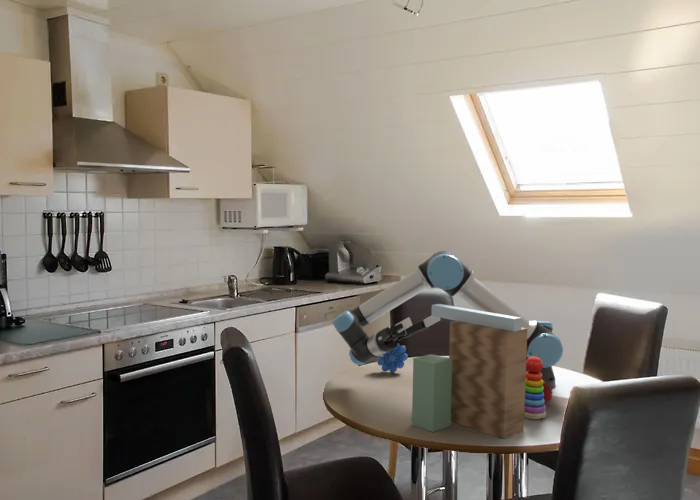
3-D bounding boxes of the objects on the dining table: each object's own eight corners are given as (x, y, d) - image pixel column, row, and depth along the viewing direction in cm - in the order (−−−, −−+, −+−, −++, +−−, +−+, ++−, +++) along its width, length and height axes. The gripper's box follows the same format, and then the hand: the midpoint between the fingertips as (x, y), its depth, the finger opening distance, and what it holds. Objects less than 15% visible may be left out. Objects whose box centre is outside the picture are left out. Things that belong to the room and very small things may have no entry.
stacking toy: (515, 411, 203) (517, 353, 201) (540, 411, 203) (542, 353, 202) (524, 420, 195) (526, 359, 193) (550, 420, 195) (552, 359, 194)
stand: (447, 420, 194) (450, 322, 192) (467, 412, 201) (470, 318, 198) (503, 438, 180) (507, 333, 177) (523, 430, 186) (527, 328, 184)
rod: (431, 315, 201) (431, 304, 201) (438, 314, 204) (438, 303, 203) (514, 331, 179) (514, 319, 179) (521, 329, 182) (521, 317, 181)
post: (411, 424, 190) (413, 358, 188) (429, 418, 195) (431, 354, 194) (432, 432, 184) (434, 363, 182) (450, 425, 189) (452, 359, 188)
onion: (552, 402, 212) (553, 379, 211) (551, 408, 207) (552, 383, 206) (533, 400, 214) (534, 377, 213) (532, 405, 208) (533, 381, 208)
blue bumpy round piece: (408, 370, 249) (408, 340, 248) (406, 375, 243) (407, 344, 242) (378, 368, 251) (379, 338, 250) (376, 373, 245) (376, 342, 244)
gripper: (411, 346, 227) (453, 324, 212) (360, 357, 210) (402, 335, 196) (404, 326, 229) (445, 303, 215) (352, 336, 212) (393, 312, 198)
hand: (424, 318), depth 205 cm, fingers open, 13 cm apart
